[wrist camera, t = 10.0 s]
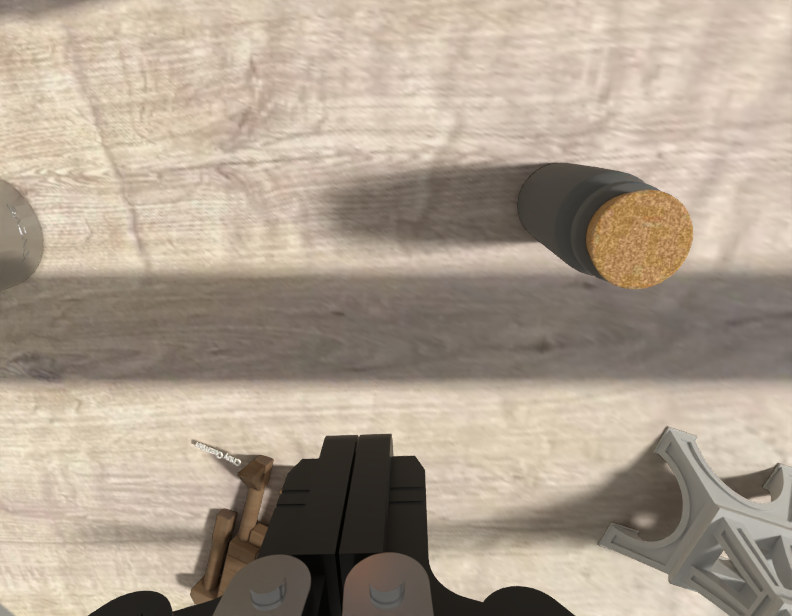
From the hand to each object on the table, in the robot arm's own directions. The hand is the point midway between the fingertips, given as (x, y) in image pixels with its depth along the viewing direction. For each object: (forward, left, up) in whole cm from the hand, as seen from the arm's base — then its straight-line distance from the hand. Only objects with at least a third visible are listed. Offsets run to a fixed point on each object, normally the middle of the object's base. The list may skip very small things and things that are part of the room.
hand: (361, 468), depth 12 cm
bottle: (+12, +2, -29) cm, 32 cm away
